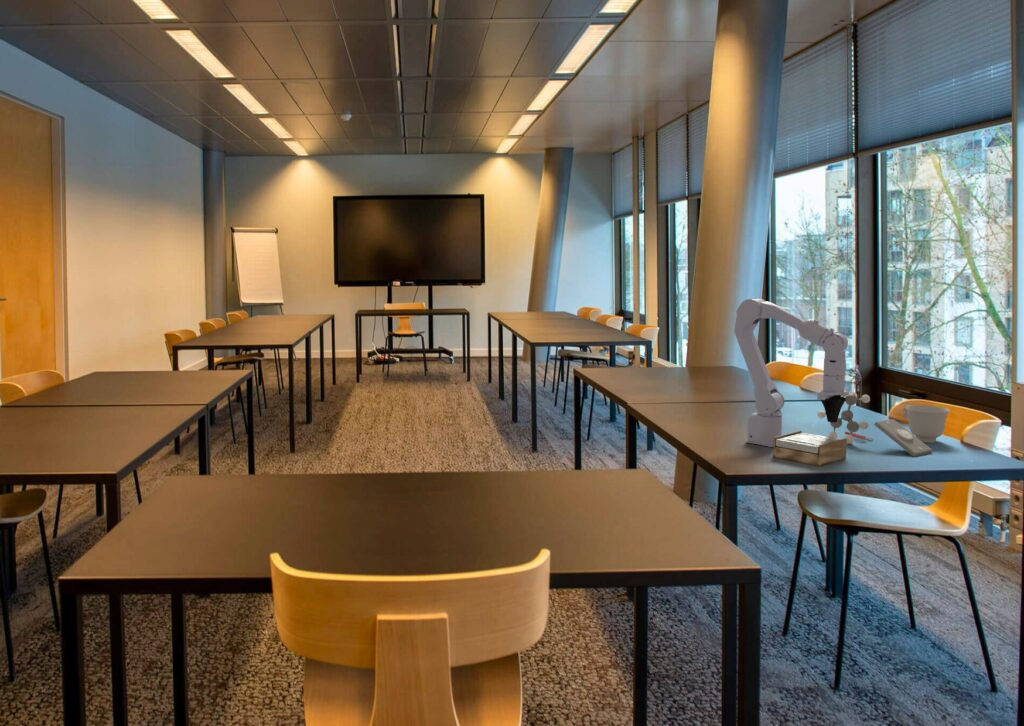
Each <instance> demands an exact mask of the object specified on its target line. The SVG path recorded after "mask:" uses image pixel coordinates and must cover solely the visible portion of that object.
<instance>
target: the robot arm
mask: <svg viewBox="0 0 1024 726" xmlns="http://www.w3.org/2000/svg"><path fill="white" fill-rule="evenodd" d="M735 311H736V317H735V324H734V328H733V329H734V331H733V332H734V334H735V335H734V336H735V337H736V340H737V343H738V345H739V348H740V351H741V353H742V357H743V359H744V362H745V364H746V367H747V370H748V373H749V375H750V377H751V381H752V383H753V386H754V390H753V394H754V395H753V396H754V397H755V405H754V407H755V410H756V412H752V413H751V414H750V415H749V417H748V419H747V430H746V431H747V432H746V434H747V436H746V440H745V443H748V444H754V445H758V446H759V445H760V446H765V447H770V448H773V440H774V437H777V436H781V435H783V434H782V430H783V429H782V427H783V412H782V408H784V405H785V397H784V395H783V394H782V393H781V392H780V391H779V390H778V388H777V385H776V384H775V383H774V382H773V381H772V378H771V377H770V376H771V375H770V373H769V370H768V368H767V365H766V363H765V360H764V358H763V354H762V352H761V349H760V347H759V343H758V341H757V339H756V336H755V334H754V331H755V329H756V327H757V325H758V324H759V322H760V321H761V320H763V319H774V320H776V321H778V322H780V323H782V324H785V325H786V326H788V327H790V328H793V329H795V330H797V331H798V333H799V336H800V338H802V339H804V340H806V341H808V342H810V343H812V344H814V345H816V346H818V347H822V349H823V350H824V351H823V352H824V359H823V373H822V374H823V377H822V379H823V380H822V390H821V389H820V391H819V392H817V393H816V394H817V396H816V400H820V402H821V403H822V406H823V407H824V410H825V411H824V412H826V416H825V417H826V419H827V423H830V422H833V423H835V422H837V420H838V417H839V416H840V413H841V410H842V407H844V406H843V405H844V403H846V402H845V401H846V398H845V397H841V395H846V396H847V395H849V394H850V388H849V387H845V385H846V384H845V383H846V381H845V380H846V363H847V361H846V356H847V354H846V349H847V347H848V344H849V341H848V338H847V337H846V335H845V334H843V333H842V332H841V331H835V328H833V327H830V328H829V327H827V326H825V325H823V324H821V323H820V320H819V319H814V320H813V319H811V318H810V319H806V320H804V319H802V318H800V317H798V316H796V315H795V314H793V313H791V312H790V311H788V310H786V309H784V308H783V307H781V306H779V305H777V304H775V303H773V302H771V301H768V300H767V301H766V300H765V299H764V298H760V297H757V298H747V299H745V300H743V301H742V302H741V303H740V304H739V306H738V307H737V309H736V310H735Z"/></svg>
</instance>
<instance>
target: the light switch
mask: <svg viewBox="0 0 1024 726" xmlns="http://www.w3.org/2000/svg"><path fill="white" fill-rule="evenodd" d="M874 426H875V428H877V429H878V430H880V431H881V432H882V433H883V434H885V435H886V436H887V437H888V438H890V439H891V440H892V441H893V442H895V444H897V445H898V446H899V447H900V448H902V449H903V450H904V451H906V452H907V453H908V454H909V455H910V456H912V457H917V455H918V456H922V455H921V454H923V455H927V453H928V454H931V453H932V452H933V450H934V449H932V448H931V447H930V446H928V444H926V443H925V442H922V441H921V440H919V439H918V438H917V437H916V436H915V435H913V434H912V433H911V431H910V430H908V429H907V428H906V427H904V426H903V425H902V424H900V422H898V421H897V420H895V419H894V418H893V419H887V420H879V421H876V422H874Z"/></svg>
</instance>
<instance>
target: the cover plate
mask: <svg viewBox="0 0 1024 726" xmlns="http://www.w3.org/2000/svg"><path fill="white" fill-rule="evenodd" d="M840 439H841V438H838V437H837V438H831V437H829V436H825V435H818V434H812V433H807V432H801V433H799V434H796V435H792V436H788V437H784V438H780V439H777V440H776V446H779V447H784V448H790V449H795V450H800V451H806V452H811V453H817V454H819V445H823V444H826V443H830V442H833V441H836V440H840Z"/></svg>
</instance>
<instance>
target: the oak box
mask: <svg viewBox="0 0 1024 726" xmlns="http://www.w3.org/2000/svg"><path fill="white" fill-rule="evenodd" d="M799 433H803V432H802V430H797V431H793V432H789V433H786V434H785V433H784V434H781V436H777V437H774V440H773V447H772V457H773V458H776V459H777V458H778V459H782V460H784V461H785V460H786V461H791V462H792V461H793V462H796V463H800V464H806V465H813V466H817V467H823V466H826V465H829V464H831V463H835V462H838V461H840V460H844V459H847V438H846V437H844V438H839V439H840V440H836V441H833V442H830V443H826V444H823V445H819V454H817V453H811V452H806V451H800V450H795V449H790V448H784V447H779V446H776V440H777V439H780V438H784V437H788V436H792V435H796V434H799Z"/></svg>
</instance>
